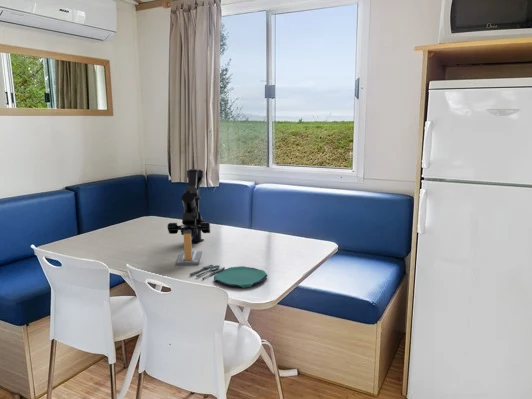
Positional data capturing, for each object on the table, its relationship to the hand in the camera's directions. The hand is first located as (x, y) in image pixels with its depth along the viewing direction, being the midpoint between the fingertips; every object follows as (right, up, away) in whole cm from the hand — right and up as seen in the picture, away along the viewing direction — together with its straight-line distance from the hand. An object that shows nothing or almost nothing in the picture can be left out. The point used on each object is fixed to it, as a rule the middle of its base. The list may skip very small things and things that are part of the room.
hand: (188, 244), depth 182 cm
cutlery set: (+20, -12, -17) cm, 29 cm away
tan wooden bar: (0, -6, 0) cm, 6 cm away
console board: (0, -7, +4) cm, 8 cm away
